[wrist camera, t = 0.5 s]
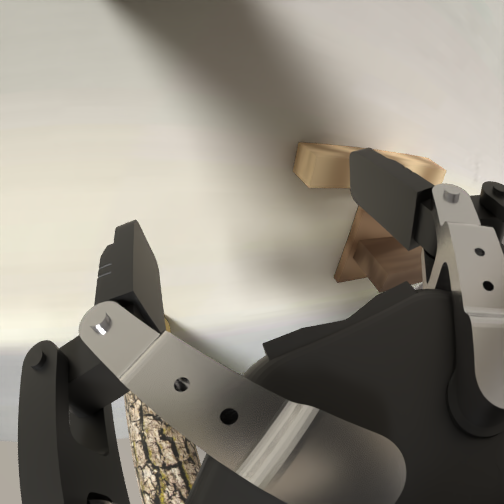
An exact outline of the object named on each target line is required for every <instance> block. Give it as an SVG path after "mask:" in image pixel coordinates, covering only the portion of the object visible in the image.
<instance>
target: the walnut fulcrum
mask: <svg viewBox="0 0 504 504" xmlns="http://www.w3.org/2000/svg"><path fill="white" fill-rule="evenodd" d="M421 252H422V247H421V246H419V247H416V248H414V249H412V250H410V251H408V250H407V249H406V248H405V247H404V246H403V245H402V244H401V243H399V242H398V241H397V240H396V239H395V238H394V237H393V236H392V235H391V234H390V233H389V232H388V231H387V230H386V229H385V228H383V227H382V226H381V225H380V224H379V223H378V222H377V221H376V220H375V219H374V218H373V217H371V216H370V215H369V214H368V213H367V212H366V211H365V210H364V209H362V208H361V207H360V206H358V209H357V212H356V215H355V218H354V221H353V224H352V227H351V230H350V233H349V236H348V239H347V242H346V245H345V248H344V251H343V253H342V256H341V259H340V262H339V265H338V267H337V270H336V273H335V275H334V278H335V280H336V281H337V283H339V282H345V281H350V280H355V279H360V278H366V277H368V278H369V279H370V281H371V282H372V283H373V284H374V286H375V287H376V288H377V290H378V291H379V292H384V291H387V290H389V289H391V288H393V287H395V286H397V285H399V284H401V283H403V282H405V281H407V282H408V283H409V284H410V285H411V284H415V283H419V282H423V279H422V264H421Z"/></svg>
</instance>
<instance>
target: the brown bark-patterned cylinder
mask: <svg viewBox="0 0 504 504" xmlns="http://www.w3.org/2000/svg"><path fill="white" fill-rule="evenodd" d="M165 325H166V331H168V332H170V333H171V331H170V325H169V323H168V321H167V320H166V319H165ZM124 400H125V409H126V417H127V425H128V432H129V438H130V444H131V451H132V456H133V462H134V467H135V472H136V477H137V482H138V487H139V491H140V495H141V500H142V504H185V502H186V500H187V497H188V495H189V493H190V490H191V488H192V486H193V484H194V481H195V479H196V477H197V474H198V472H199V470H200V468H201V463H200V460H199V456H198V453H197V449H196V445H195V444H193V443H192V442H191V441H190V440H188V439H187V438H186V437H184V436H183V435H182V434H180V433H179V432H178V431H177V430H175V429H174V428H173V427H172V426H170V425H169V424H168V423H167V422H166V421H164V420H163V419H162V418H161V417H160V416H158V415H157V414H156V413H155V412H154V411H153V410H151V409H150V408H149V407H148V406H147V405H146V404H145V403H143V402H142V401H141V400H140V399H139V398H138V397H137V396H136V395H135V394H134V393H133V392H131V391H129V392H128V393H126V394H124Z"/></svg>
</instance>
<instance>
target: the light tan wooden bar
mask: <svg viewBox="0 0 504 504" xmlns="http://www.w3.org/2000/svg"><path fill="white" fill-rule="evenodd" d="M361 149H365V148H358V147H349V146H339V145H328V144H317V143H303V142H299V143H298V148H297V153H296V158H295V163H294V168H293V172H294V173H295V174H296V175H297V176H298V177H299V178H300V179H301V180H302V181H303V182H304V183H305V184H306V185H307V186H308V187H309V188H350V166H349V156H350V153H351V152H353V151H357V150H361ZM373 150H374V149H373ZM375 151H376V152H378V153H380V154H382V155H383V156H385V157H387V158H389V159H392V160H395V161H397V162H399V163H400V164H402V165H404V166H405V168H406V167H407V168H408V169H410V170H412V172H415V173H416V174H418V175H420V176H421V177H423V178H424V179H426V180H427V181H429V182H430V183H432V184H433V185H435V186H436V185H438V184H442V181H443V179H444V176H445V173H446V170H445V169H443V168H442V167H441V166H439V165H438V164H436V163H435V162H433V161H432V160H430V159H429V158H425V157H420V156H414V155H408V154H402V153H395V152H388V151H381V150H375Z"/></svg>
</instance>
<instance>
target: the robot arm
mask: <svg viewBox="0 0 504 504" xmlns="http://www.w3.org/2000/svg"><path fill="white" fill-rule="evenodd" d="M349 166H350V191H351V195H352V197H353V199H354V201H355V202H356V203H357V204H358V205H359V206H360V207H361V208H362V209H364V210H365V211H366V212H367V213H368V214H369V215H370V216H371V217H373V218H374V219H375V220H376V221H377V222H378V223H379V224H380V225H381V226H382V227H383V228H385V229H386V230H387V231H388V232H389V233H390V234H391V235H392V236H393V237H394V238H395V239H396V240H397V241H398V242H399V243H401V244H402V245H403V246H404V247H405V248H406V249H407V250H408V251H410V250H412V249H414V248H416V247H419V246H421V247H422V252H421V264H422V279H423V289H419V290H415V289H414V288H413V287H412V286H411V285H410V284H409V283H408V282H407V281H405V282H403V283H401V284H399V285H397V286H395V287H393V288H391V289H389V290H387V291H385V292H383V293H381V294H379V295H377V296H375V297H374V298H373V299H372V300H371V301H369V302H368V303H367V304H366V305H364V306H363V307H362V308H361V309H360V310H358V311H357V312H356V313H355V314H353V315H352V316H351V317H349V318H348V319H346V320H342V321H337V322H332V323H327V324H322V325H316V326H311V327H305V328H301V329H299V330H296V331H294V332H291V333H289V334H286V335H283V336H281V337H278V338H276V339H273V340H270V341H268V342H265V343H262V344H263V347H264V350H265V354H266V356H264V357H263V358H261V359H260V360H258V361H257V362H256V363H255V364H254V365H252V366H251V367H250V368H249V369H248V370H247V371H246V372H245V373H244V375H243V376H241V375H239V374H238V373H236V372H234V371H232V370H231V369H229V368H227V367H225V366H224V365H222V364H220V363H218V362H217V361H215V360H213V359H212V358H210V357H208V356H207V355H205V354H203V353H202V352H200V351H199V350H197V349H195V348H194V347H192V346H190V345H189V344H187V343H186V342H184V341H183V340H181V339H179V338H178V337H176V336H175V335H173V334H172V333H170V332H168V331H166V325H165V318H164V310H163V302H162V294H161V285H160V276H159V268H158V265H157V261H156V259H155V256H154V254H153V252H152V250H151V248H150V246H149V244H148V242H147V240H146V237H145V235H144V233H143V231H142V229H141V227H140V225H139V223H138V222H137V220H134V221H131V222H128V223H126V224H123V225H121V226H118V227H116V229H115V237H114V243H113V244H111V245H108V246H107V247H106V249H105V250H104V252H103V254H102V255H101V258H100V264H99V271H98V279H97V287H96V296H95V305H94V307H92V308H91V309H90V310H89V311H88V312H87V313H86V314H85V315H84V317H83V318H82V320H81V322H80V325H79V336H77V337H76V338H74V339H73V340H71V341H70V342H68V343H67V344H65V345H64V346H62V347H61V348H58V347H57V346H56V345H55V344H54V343H53V342H51V341H48V340H45V341H41V342H39V343H37V344H36V345H34V346H33V347H32V348H31V349H30V351H29V352H28V353H27V355H26V357H25V359H24V362H23V366H22V375H21V385H20V397H19V414H18V460H19V477H20V489H21V497H22V504H130V502H129V497H128V493H127V489H126V485H125V481H124V476H123V472H122V467H121V462H120V457H119V452H118V446H117V441H116V434H115V428H114V421H113V414H112V406H111V403H112V402H113V401H115V400H117V399H118V398H120V397H121V396H123V395H124V394H126V393H128V392H129V391H131V392H133V393H134V394H135V395H136V396H137V397H138V398H139V399H140V400H141V401H142V402H143V403H145V404H146V405H147V406H148V407H149V408H150V409H151V410H153V411H154V412H155V413H156V414H157V415H158V416H160V417H161V418H162V419H163V420H164V421H166V422H167V423H168V424H169V425H170V426H172V427H173V428H174V429H175V430H177V431H178V432H179V433H180V434H182V435H183V436H184V437H186V438H187V439H188V440H190V441H191V442H192V443H193V444H195V445H196V446H198V447H199V448H200V449H202V450H203V451H204V452H206V456H205V458H204V461H203V463H202V465H201V468H200V470H199V472H198V474H197V477H196V479H195V481H194V484H193V486H192V488H191V490H190V493H189V495H188V497H187V500H186V502H185V504H504V245H503V244H502V243H501V242H502V239H503V236H504V185H502V184H500V183H497V182H491V181H488V182H485V183H483V185H482V189H481V194H480V195H475V196H469V194H468V193H467V192H466V191H465V190H464V189H462V188H460V187H458V186H455V185H452V184H438V185H436V186H435V185H433V184H432V183H430V182H429V181H427V180H426V179H424V178H423V177H421V176H420V175H418V174H416V173H415V172H412V170H410V169H408V168H407V167H406V168H405V166H404V165H402V164H400V163H399V162H397V161H395V160H392V159H389V158H387V157H385V156H383V155H382V154H380V153H378V152H376V151H375V150H373V149H371V148H365V149H361V150H357V151H353V152H351V153H350V156H349ZM69 421H70V424H69Z"/></svg>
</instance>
